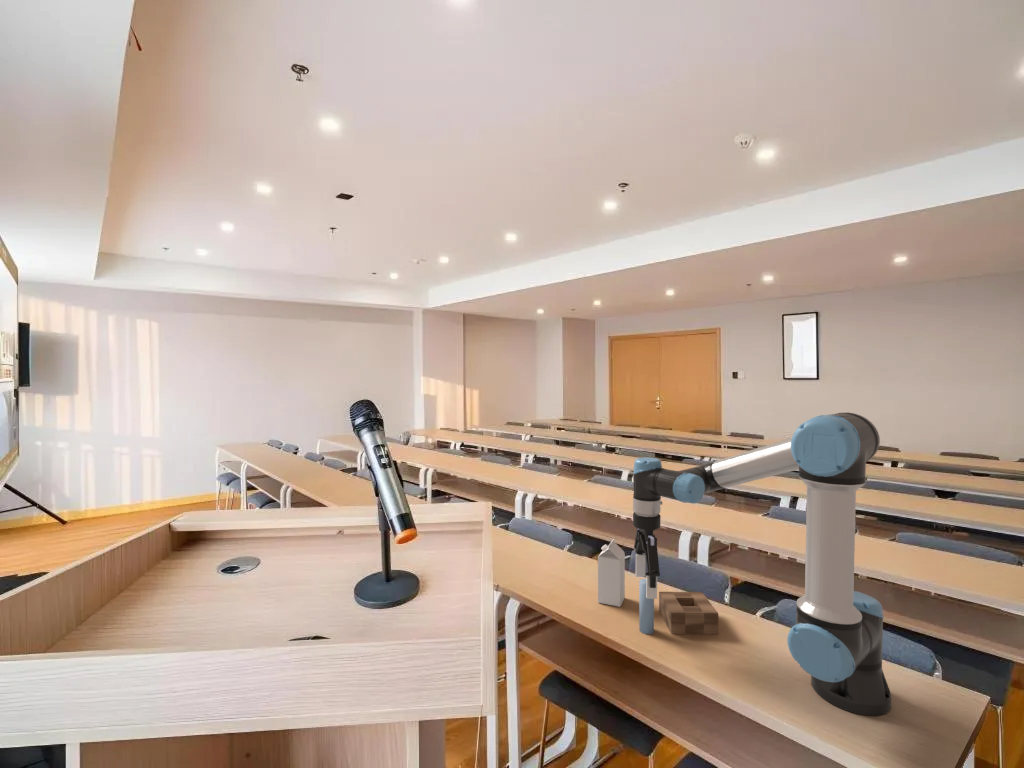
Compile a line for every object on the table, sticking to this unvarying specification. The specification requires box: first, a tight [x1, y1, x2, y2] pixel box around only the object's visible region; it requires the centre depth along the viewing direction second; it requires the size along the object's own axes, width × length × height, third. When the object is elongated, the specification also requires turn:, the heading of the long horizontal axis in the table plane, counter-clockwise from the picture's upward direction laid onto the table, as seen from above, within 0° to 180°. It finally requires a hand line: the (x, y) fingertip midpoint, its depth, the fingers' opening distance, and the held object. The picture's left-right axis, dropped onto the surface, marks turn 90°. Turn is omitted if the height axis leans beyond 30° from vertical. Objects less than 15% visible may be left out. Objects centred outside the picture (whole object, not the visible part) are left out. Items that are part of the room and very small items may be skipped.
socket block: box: [658, 591, 719, 635], centre depth 145 cm, size 13×13×6 cm
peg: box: [638, 578, 655, 635], centre depth 140 cm, size 4×4×14 cm
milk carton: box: [597, 538, 626, 608], centre depth 158 cm, size 7×7×19 cm
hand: (645, 586), depth 140 cm, fingers open, 13 cm apart
